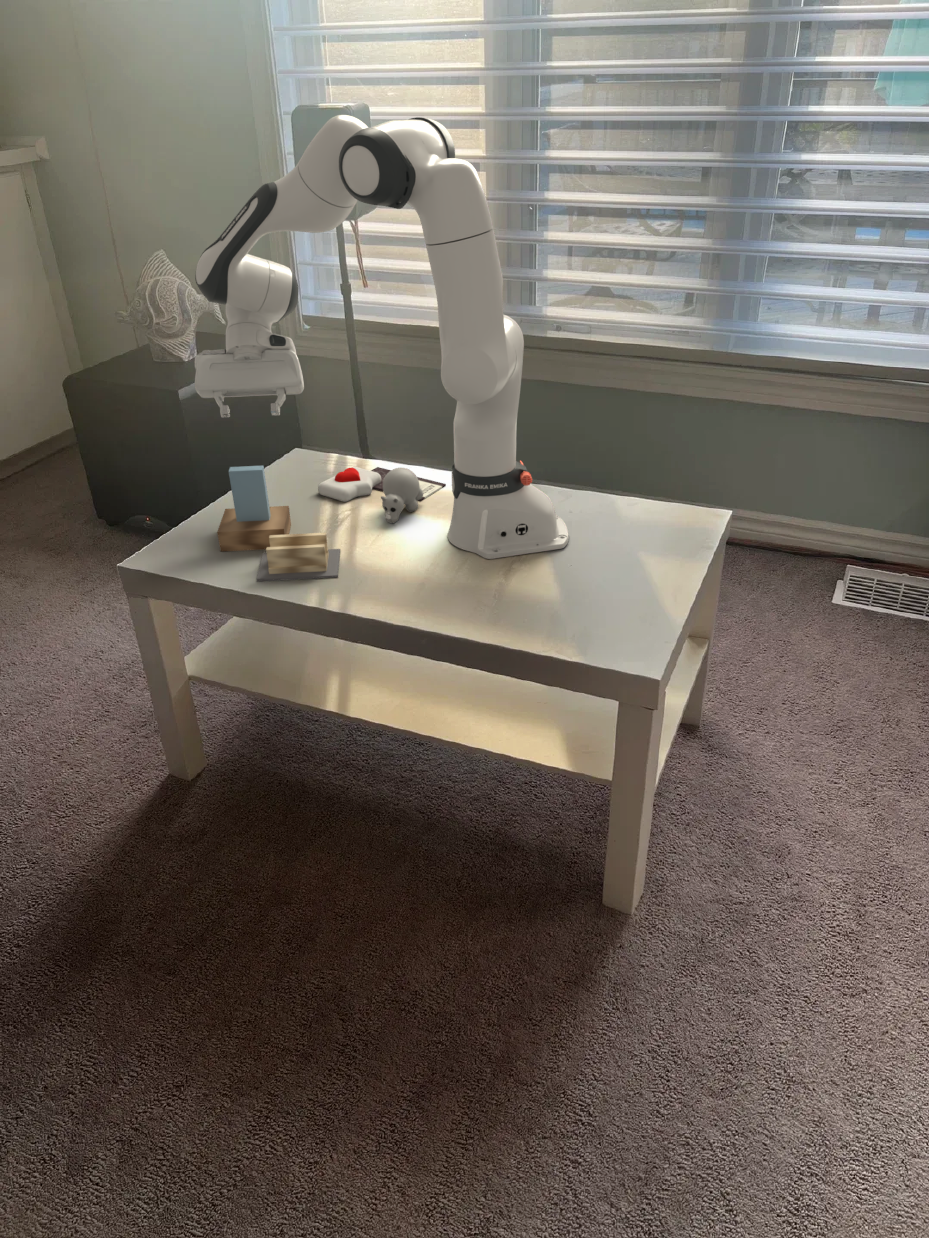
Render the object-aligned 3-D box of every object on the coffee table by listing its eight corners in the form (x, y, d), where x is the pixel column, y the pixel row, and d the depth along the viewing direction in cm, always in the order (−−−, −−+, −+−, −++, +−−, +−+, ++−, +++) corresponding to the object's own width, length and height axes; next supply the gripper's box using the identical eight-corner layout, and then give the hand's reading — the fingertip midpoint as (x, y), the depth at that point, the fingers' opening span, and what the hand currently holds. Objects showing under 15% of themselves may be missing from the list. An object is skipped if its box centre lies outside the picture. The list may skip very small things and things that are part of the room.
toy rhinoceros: (374, 531, 180) (363, 501, 173) (396, 488, 186) (387, 457, 180) (408, 536, 178) (398, 506, 171) (429, 492, 184) (420, 461, 177)
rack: (328, 555, 166) (326, 531, 164) (326, 573, 161) (324, 548, 158) (273, 558, 166) (269, 534, 163) (269, 576, 160) (265, 551, 157)
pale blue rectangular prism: (270, 515, 172) (263, 465, 166) (269, 520, 170) (262, 469, 165) (238, 517, 171) (230, 467, 166) (236, 521, 170) (228, 471, 164)
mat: (340, 550, 168) (340, 548, 168) (337, 577, 159) (337, 575, 159) (263, 554, 167) (263, 552, 167) (256, 581, 159) (256, 579, 158)
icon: (350, 487, 182) (313, 476, 187) (352, 507, 185) (315, 496, 190) (389, 467, 191) (352, 457, 196) (390, 486, 193) (354, 476, 198)
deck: (291, 524, 177) (288, 505, 175) (286, 548, 169) (283, 528, 167) (228, 527, 177) (225, 508, 175) (220, 551, 168) (217, 532, 166)
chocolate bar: (377, 467, 200) (445, 484, 192) (377, 471, 201) (445, 488, 192) (351, 481, 194) (420, 499, 185) (351, 485, 194) (421, 503, 186)
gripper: (190, 342, 172) (190, 410, 169) (299, 338, 173) (301, 405, 170) (198, 359, 178) (198, 424, 175) (304, 355, 179) (306, 420, 176)
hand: (250, 415), depth 173 cm, fingers open, 8 cm apart
